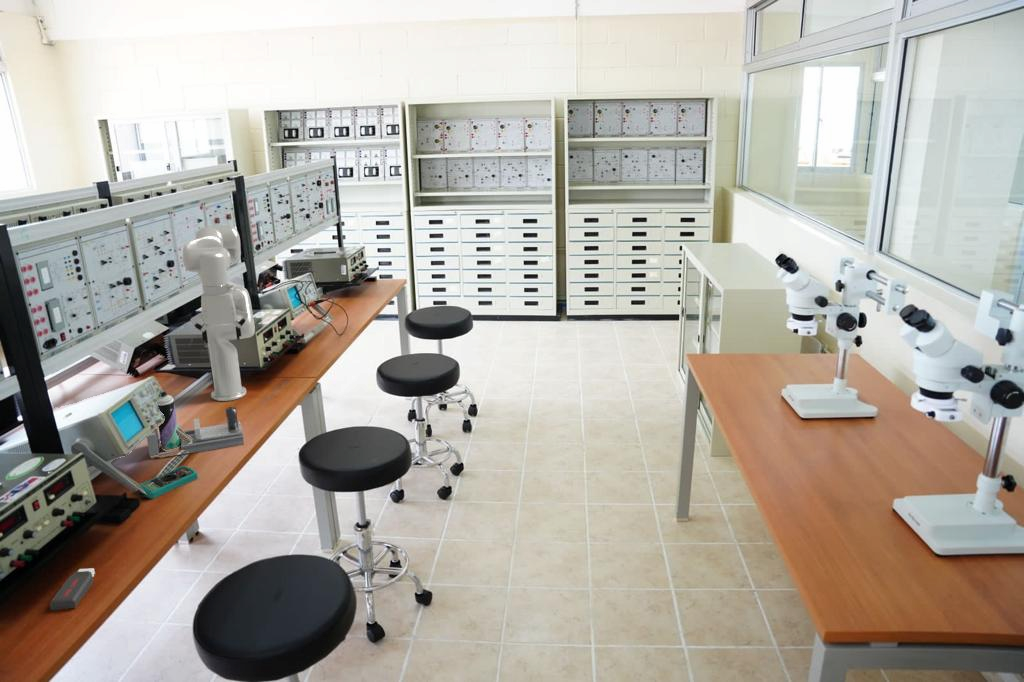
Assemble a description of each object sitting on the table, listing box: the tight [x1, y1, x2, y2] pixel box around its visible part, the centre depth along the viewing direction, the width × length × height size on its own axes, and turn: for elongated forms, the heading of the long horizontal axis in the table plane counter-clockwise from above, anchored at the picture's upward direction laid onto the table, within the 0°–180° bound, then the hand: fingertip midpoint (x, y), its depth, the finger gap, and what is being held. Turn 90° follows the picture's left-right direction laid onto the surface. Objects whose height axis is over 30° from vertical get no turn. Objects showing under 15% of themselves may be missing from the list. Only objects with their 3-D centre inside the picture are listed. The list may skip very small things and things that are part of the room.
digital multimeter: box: [139, 465, 199, 500], centre depth 200 cm, size 7×15×3 cm, turn 146°
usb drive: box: [49, 567, 96, 611], centre depth 156 cm, size 5×12×3 cm, turn 7°
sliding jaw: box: [193, 406, 244, 443], centre depth 225 cm, size 8×14×9 cm, turn 115°
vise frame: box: [146, 427, 245, 458], centre depth 223 cm, size 12×28×8 cm, turn 115°
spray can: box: [156, 390, 181, 450], centre depth 218 cm, size 6×6×20 cm
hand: (222, 340), depth 225 cm, fingers open, 9 cm apart
